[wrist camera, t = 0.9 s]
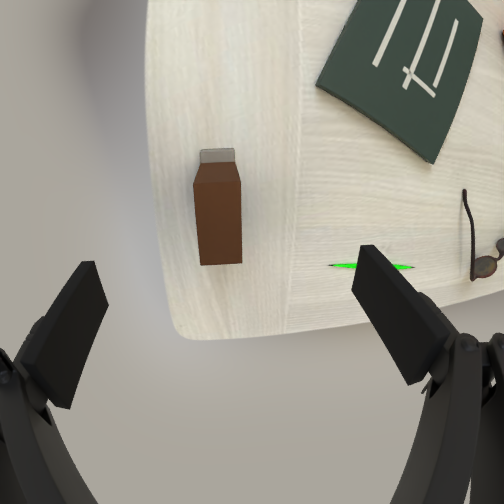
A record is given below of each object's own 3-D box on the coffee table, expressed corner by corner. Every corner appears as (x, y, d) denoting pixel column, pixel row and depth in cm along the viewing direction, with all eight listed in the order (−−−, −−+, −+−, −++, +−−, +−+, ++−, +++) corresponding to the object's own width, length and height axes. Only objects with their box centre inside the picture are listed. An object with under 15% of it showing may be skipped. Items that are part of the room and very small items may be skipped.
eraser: (200, 149, 24) (192, 168, 16) (233, 148, 24) (240, 165, 17) (205, 229, 28) (201, 277, 20) (235, 227, 28) (242, 275, 20)
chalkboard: (389, -59, 11) (394, -63, 10) (477, 19, 16) (483, 18, 15) (314, 85, 22) (319, 84, 21) (427, 162, 26) (433, 165, 25)
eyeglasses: (461, 271, 35) (479, 288, 31) (458, 191, 28) (483, 205, 24) (509, 233, 33) (526, 246, 29) (509, 158, 26) (531, 168, 22)
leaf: (412, 268, 34) (415, 272, 33) (324, 266, 32) (326, 270, 31) (415, 263, 33) (418, 266, 33) (326, 259, 31) (328, 263, 31)
